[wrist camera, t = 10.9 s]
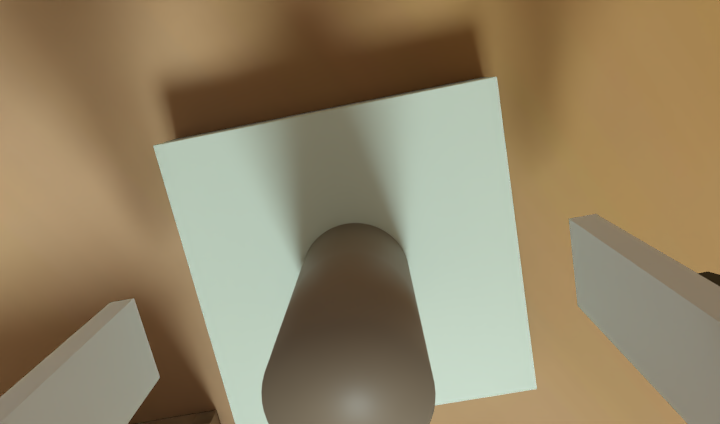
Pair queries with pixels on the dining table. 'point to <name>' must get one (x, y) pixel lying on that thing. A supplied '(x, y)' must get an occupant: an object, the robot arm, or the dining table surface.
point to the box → (190, 419)
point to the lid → (357, 258)
